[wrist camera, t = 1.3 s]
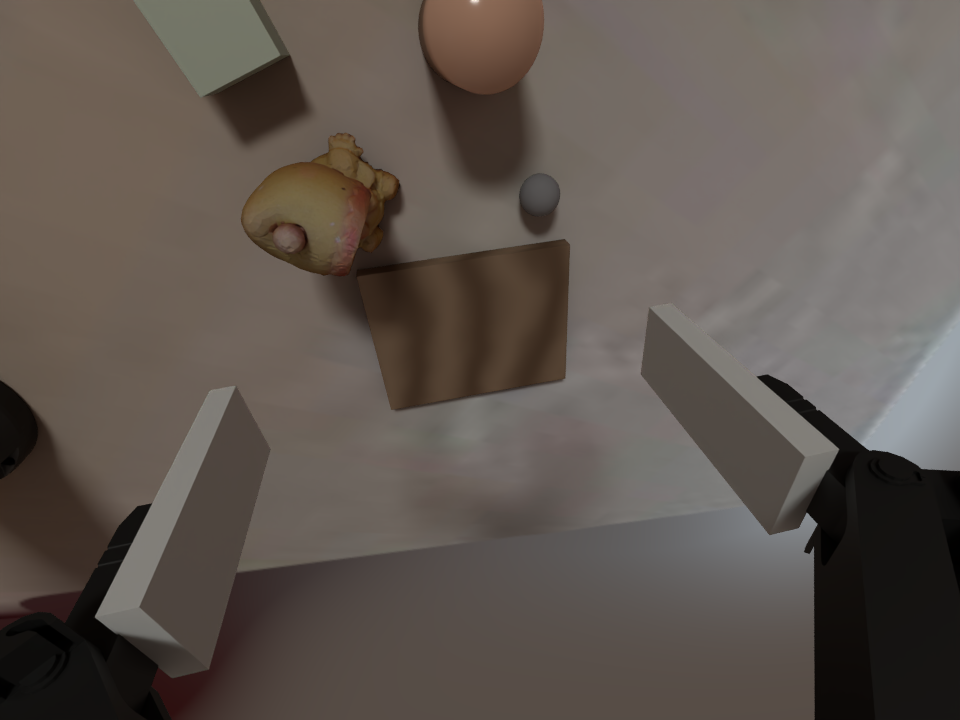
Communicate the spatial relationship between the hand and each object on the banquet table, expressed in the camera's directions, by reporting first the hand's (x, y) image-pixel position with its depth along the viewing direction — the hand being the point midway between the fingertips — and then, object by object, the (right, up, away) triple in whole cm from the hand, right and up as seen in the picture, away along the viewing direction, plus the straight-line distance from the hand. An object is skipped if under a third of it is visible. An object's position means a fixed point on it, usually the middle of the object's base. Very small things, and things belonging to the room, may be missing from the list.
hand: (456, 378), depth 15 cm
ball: (+6, +16, +26) cm, 31 cm away
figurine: (-11, +15, +23) cm, 30 cm away
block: (-17, +24, +15) cm, 34 cm away
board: (0, +4, +33) cm, 33 cm away
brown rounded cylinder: (0, +25, +18) cm, 31 cm away
